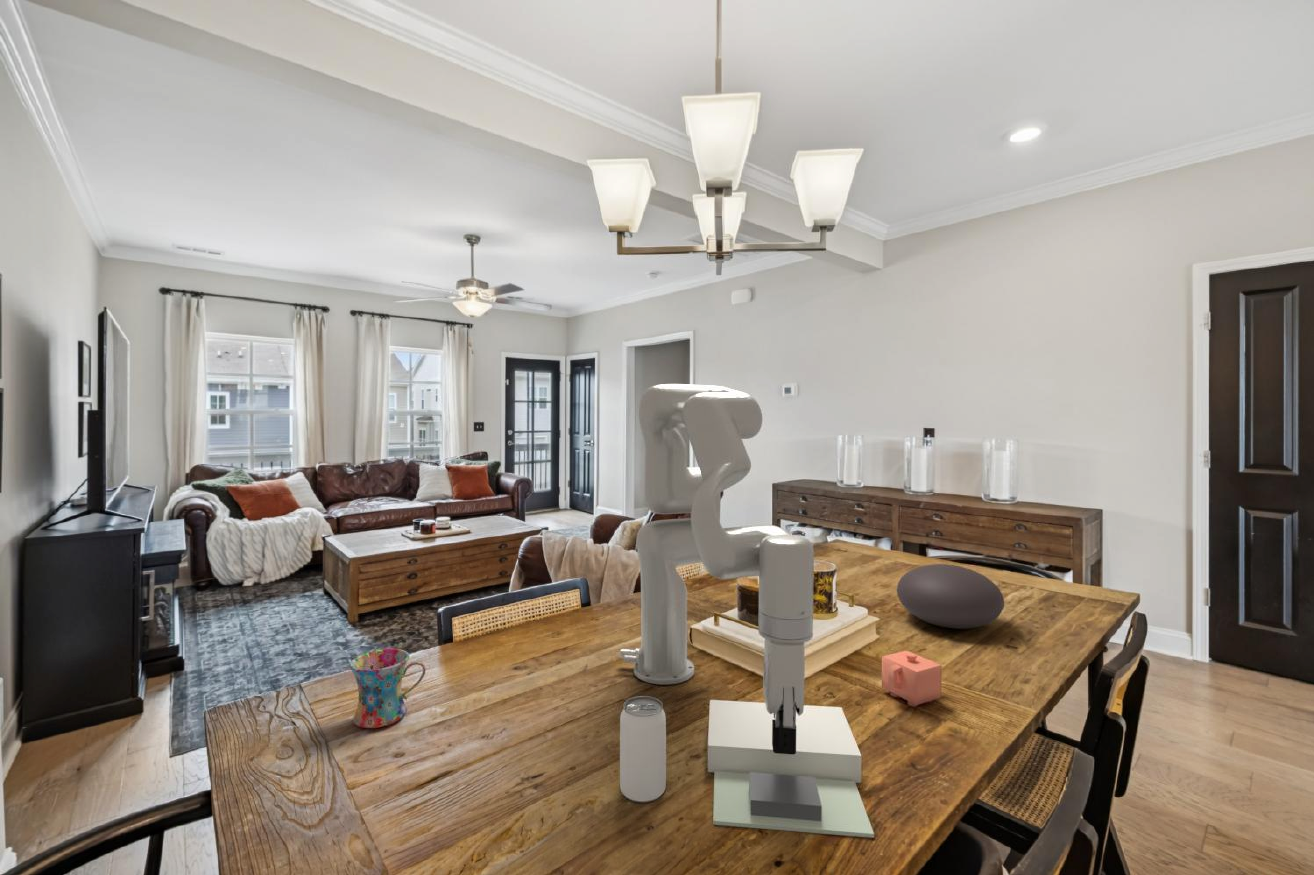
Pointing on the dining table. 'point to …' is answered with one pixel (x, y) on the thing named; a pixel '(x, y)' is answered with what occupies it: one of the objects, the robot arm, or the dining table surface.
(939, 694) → the pink cube teapot
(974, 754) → the dining table surface
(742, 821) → the mat
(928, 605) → the flattened ellipsoid
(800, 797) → the tile
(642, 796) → the can
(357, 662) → the mug
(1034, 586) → the dining table surface
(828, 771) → the plate
